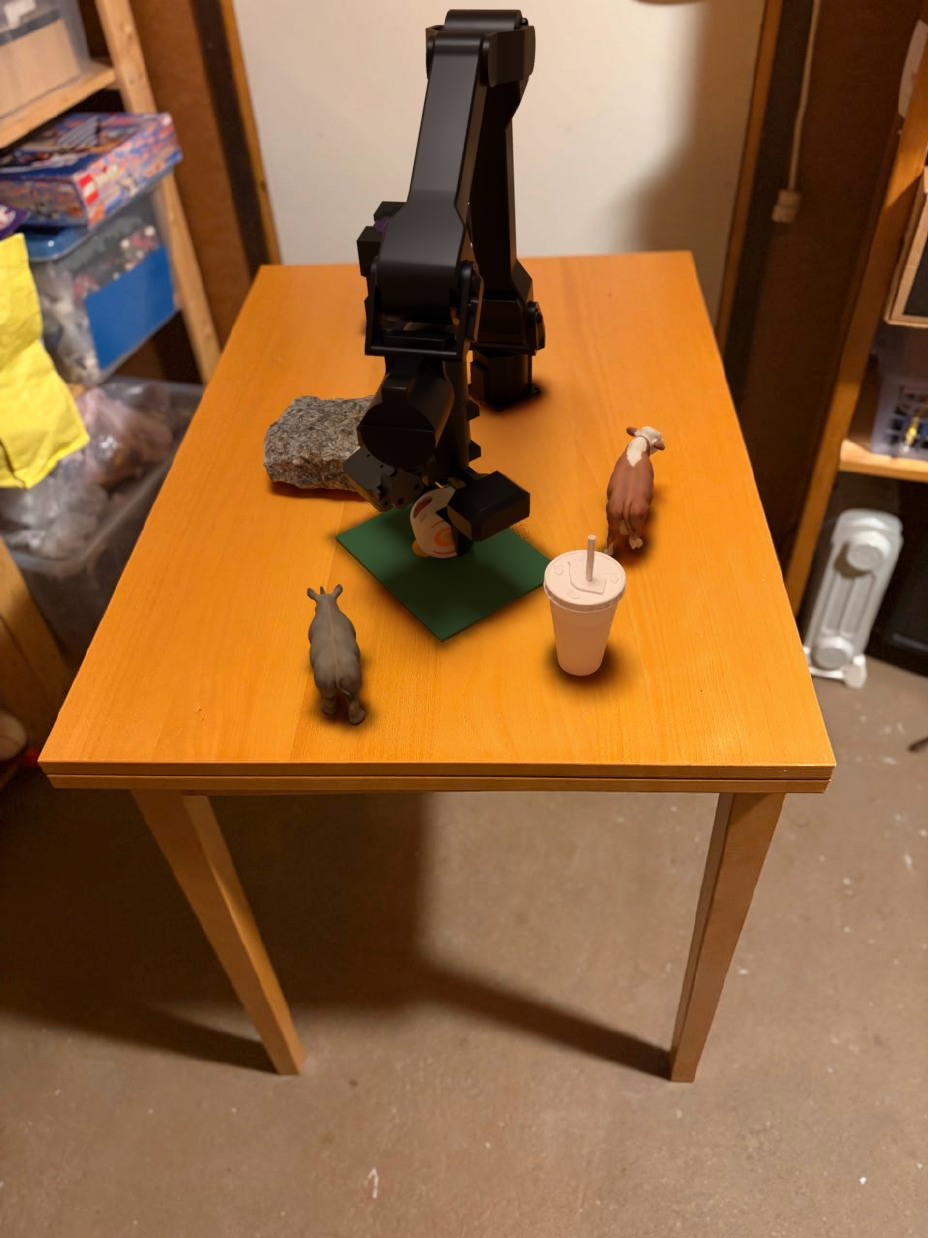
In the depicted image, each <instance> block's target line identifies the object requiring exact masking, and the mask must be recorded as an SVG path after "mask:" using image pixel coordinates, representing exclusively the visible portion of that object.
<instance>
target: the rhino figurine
mask: <svg viewBox="0 0 928 1238" xmlns="http://www.w3.org/2000/svg"><path fill="white" fill-rule="evenodd" d="M343 588H344V587H343V584H341V583H338V584H337V585H336V586H335V587H334V589H333V590H332V592H331V593H326V591H325V589H324V586H323V585H320V586H319V594H318V593H317V592H316V591H315V590H314V589H313V588H310V587H307V588H306V595H307V597H308V598H309V599H310V600H312V601H314V602H315V607H314V616H313V617H312V620H311V623H310V624H309V627H308V631H307V635H308V636H307V638H308V639H307V640H308V642H309V644H310V647H309V651H308V652H309V654H308V655H309V657H308V658H309V663H310V665H311V668H312V670H313V681H314V685H315V687H316V689H317V690H318V692H319V693H320V694H321V696H322V697H323V700H322V702H321V704H320V706H319V707H320V710H321V711H323V712H324V713H326V714H328V715H329V714H330V715H331V714H334V713H336V711H337V709H338V701H337V693H338V691H340V692H342V694H343V695H344V697H345V700H346V705H347V710H348V711H347V717H348V721H349V722H350V723H351V724H358V723H360V722H362V721H363V720H364V718H365V716H366V712H365V711H364V710H363V709H362V708H361V707H360V699H359V698H360V697H359V695H360V691H361V688H362V684H363V673H362V669H361V666H360V661H361V649H360V646H359V644H358V642H357V632H356V629H355V626H354V624H353V622H352V620H351V619H350V618H349V617H348V616H347V615H346V614H345V613H344V612H343V611H342V610H341V609H340V607H339V604H338V602H337V601H338V598H339V597H340V596H341V595H342V593H343V592H344V589H343Z"/></svg>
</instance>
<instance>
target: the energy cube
mask: <svg viewBox="0 0 928 1238" xmlns="http://www.w3.org/2000/svg"><path fill="white" fill-rule="evenodd" d="M405 204H406V201H394V200H393V201H391V200H390V201H389V200H382V201H381V202H380V203H379V205H378V207H377V208H376V210H375V211H374V213H373V214H372V216H373V222H374V224H373V225H365V226H364V228H363V229H362V231H361V232H360V234H359V236H358V237H357V239H356V241H355V242H356V249H357V257H358V258H357V259H358V265H359V272H360V273H359V274H360V276H361V277H363V278H365V280H366V282H365V283H366V291H367V294H368V293H369V279H370V270H371V265H372V261H373V259H374V258H375V257H376V256H378V254H379V250H380V246H381V242H382V238H383V234H384V230H385V226H386V224H387V223H388V222H389V221H390V220H391V218H392V217H393V216H394V215H395V214H396V213H397V212H398V211H399V210H400V209H401V208H402V207H403V206H404V205H405ZM465 225H466V228H467V232H468V235H469V239H470V242H471V244H472V240H471V227H470V213H469V203H468V209H467V215H466V223H465ZM363 305H364V311H365V312H364V313H365V319H366V320H367V307H368V295H367V296H366V297H365V299H364V300H363ZM408 323H409V322H401V321H389V320H388V319H387V318H386V316H385V315H384V321H383V326H382V329H397V330H403V329H404V328H405V327H406V325H407V324H408Z"/></svg>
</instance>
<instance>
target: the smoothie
mask: <svg viewBox="0 0 928 1238" xmlns="http://www.w3.org/2000/svg"><path fill="white" fill-rule="evenodd" d="M596 537H597V536H596V535H594V534H589V535H588V536H587V549H577V550H570V551H567V552H564V553H562V554H559V555H557V556H556V557H554V558H553V559H552V560H550V561H551V562H550V563H549V565H548V566H547V568H546V571H545V578H544V584H543V585H542V586H543V591H544V593H545V594H546V596H547V598H548V600H549V606H550V613H551V620H552V628H553V635H554V642H555V648H556V655H557V662H558V665H559V667H560V668H561V669H562V670H563V671H564V672H566V673H567V674H570V675H572V676H580V677H581V676H583V677H584V676H589V675H592V674H594V673H595V672H597V671H598V669H599V668H600V667H601V665H602V661H603V658H604V655H605V651H606V647H607V645H608V640H609V636H610V634H611V629H612V625H613V624H614V623H613V622H614V619H615V616H616V611H617V609H618V605H619V602H620V601H621V600H622V599H623V597H624V595H625V593H626V588H627V586H626V585H627V583H626V581H627V575H626V572H625V569H624V568H623V566H622V565H621V564H620V563H619V561H617V560H616V559H615V558H613V557H612V556H608V555H606V554H604V552H601V551H596V539H597V538H596Z"/></svg>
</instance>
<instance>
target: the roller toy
mask: <svg viewBox="0 0 928 1238" xmlns="http://www.w3.org/2000/svg"><path fill="white" fill-rule="evenodd" d="M454 491H455V490H454V489H449V488H445V489H442V488H440V489H435V490H432V491H430V492H427V493H426V494H424V495H423V496H421V497H420V498H419V499H418V500H417V501H416V503H415V504H414V506H413V508H412V510H411V514H410V520H411V525H412V528H413V531H414V535H415V537H416V540H415V541H414V543H413V546H412V547H413V551H414V553H415V554H416V555H418V556H421V557H428V556H432V557H436V558H449V557H453V556H456V555H457V554H456V550H455V547H454V543H453V538H452V533H451V528H450V525H449V524H447V523H446V522H445V521H444V520H443V519H441V518H440V517H439V516H438V515H437V514H436V513H435V512H436V511H438V510H440V509H442V508H444V507H446V506H447V503H448V502H449V500H450V499H451V497H452V495H453V494H454Z"/></svg>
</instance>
